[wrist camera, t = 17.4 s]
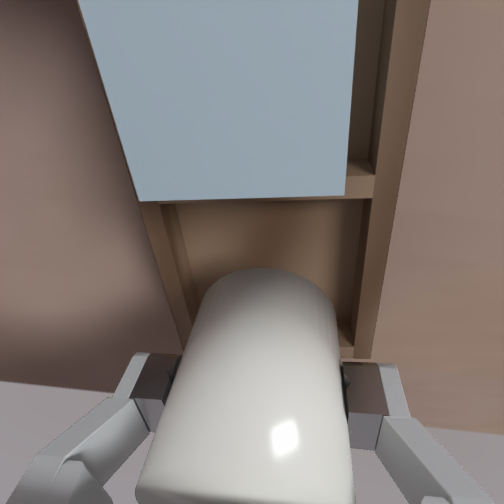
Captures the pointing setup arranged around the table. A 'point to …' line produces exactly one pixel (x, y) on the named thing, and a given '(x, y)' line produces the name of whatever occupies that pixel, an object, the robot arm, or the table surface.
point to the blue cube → (228, 94)
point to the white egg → (255, 401)
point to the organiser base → (310, 197)
